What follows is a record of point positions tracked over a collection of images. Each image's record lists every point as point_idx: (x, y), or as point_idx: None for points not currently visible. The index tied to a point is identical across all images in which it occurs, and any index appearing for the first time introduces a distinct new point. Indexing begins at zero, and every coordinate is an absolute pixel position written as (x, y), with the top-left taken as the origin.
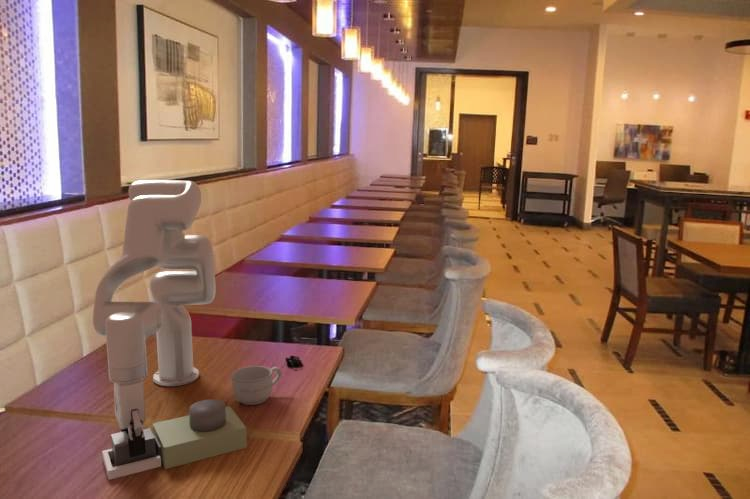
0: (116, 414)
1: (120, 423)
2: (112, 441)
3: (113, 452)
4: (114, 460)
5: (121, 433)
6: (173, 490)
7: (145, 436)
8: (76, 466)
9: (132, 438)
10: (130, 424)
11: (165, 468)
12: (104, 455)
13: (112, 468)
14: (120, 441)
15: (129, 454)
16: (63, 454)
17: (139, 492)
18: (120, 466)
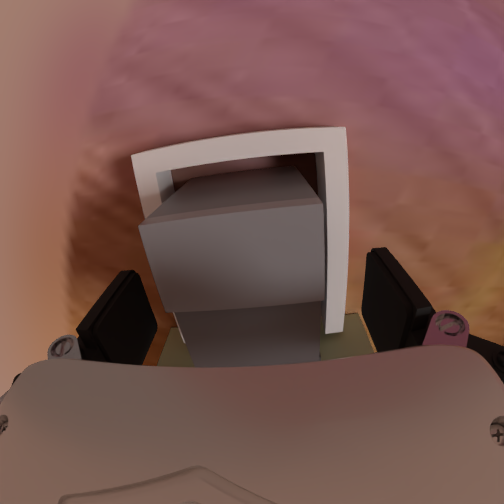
0: (269, 426)
1: (20, 395)
2: (257, 200)
3: (251, 183)
4: (235, 178)
5: (301, 274)
6: (74, 322)
7: (233, 366)
8: (313, 26)
9: (56, 356)
10: (382, 327)
11: (171, 329)
12: (292, 133)
13: (147, 173)
14: (175, 263)
15: (116, 276)
16: (422, 11)
17: (67, 250)
18: (155, 207)
